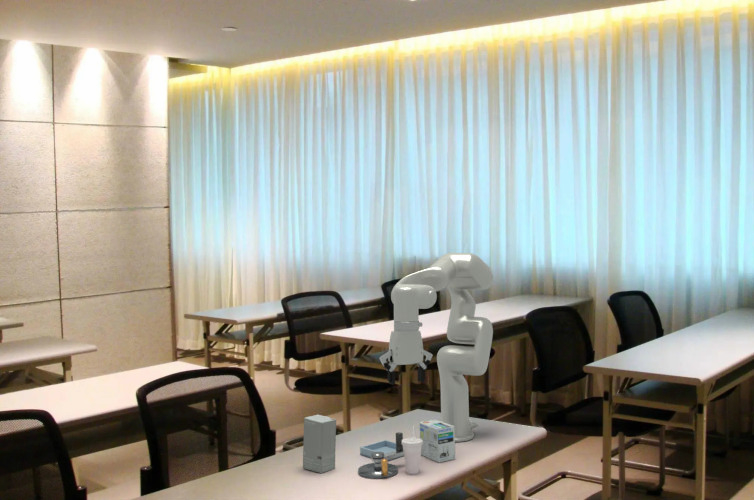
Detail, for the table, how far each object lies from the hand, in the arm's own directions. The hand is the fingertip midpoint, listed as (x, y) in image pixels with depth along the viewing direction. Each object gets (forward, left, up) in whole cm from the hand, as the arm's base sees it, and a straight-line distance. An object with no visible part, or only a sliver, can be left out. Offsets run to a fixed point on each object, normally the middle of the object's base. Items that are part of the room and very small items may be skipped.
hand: (406, 382), depth 246 cm
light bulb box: (-13, 0, -26) cm, 29 cm away
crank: (+6, -3, -23) cm, 24 cm away
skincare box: (+20, -18, -26) cm, 38 cm away
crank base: (+10, -3, -26) cm, 28 cm away
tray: (-3, -14, -26) cm, 30 cm away
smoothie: (+3, +5, -26) cm, 27 cm away
